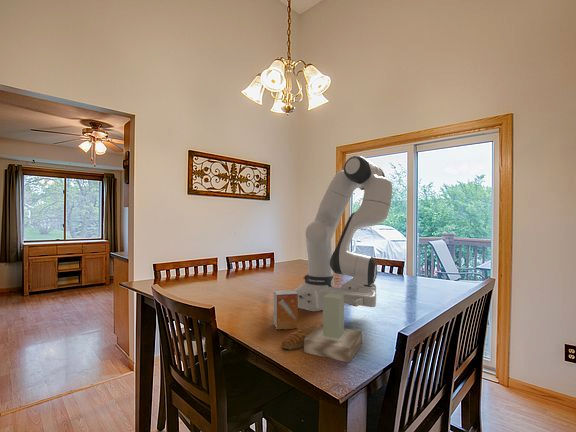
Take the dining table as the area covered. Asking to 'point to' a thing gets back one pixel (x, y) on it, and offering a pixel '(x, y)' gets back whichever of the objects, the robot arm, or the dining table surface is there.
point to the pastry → (294, 340)
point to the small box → (286, 309)
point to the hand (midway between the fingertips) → (340, 302)
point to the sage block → (333, 315)
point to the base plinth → (333, 344)
